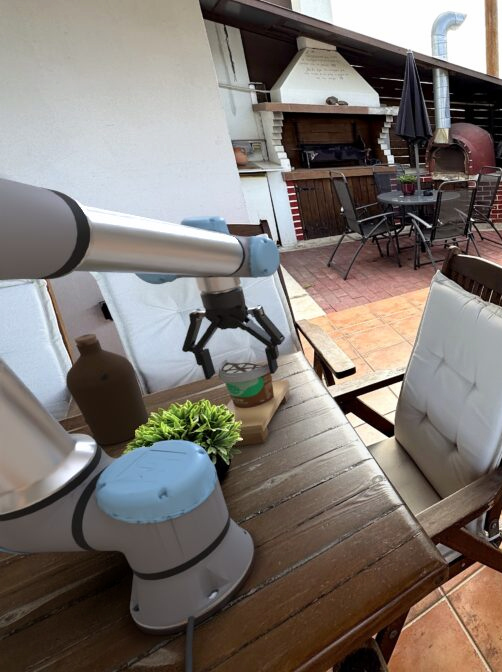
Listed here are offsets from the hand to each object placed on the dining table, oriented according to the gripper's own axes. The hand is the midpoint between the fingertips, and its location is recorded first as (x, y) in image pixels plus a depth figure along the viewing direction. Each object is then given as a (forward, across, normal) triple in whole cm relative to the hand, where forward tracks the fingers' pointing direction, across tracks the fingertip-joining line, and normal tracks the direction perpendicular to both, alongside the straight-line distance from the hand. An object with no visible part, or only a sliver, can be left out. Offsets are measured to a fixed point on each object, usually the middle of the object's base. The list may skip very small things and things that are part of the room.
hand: (243, 373), depth 93 cm
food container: (+9, +1, 0) cm, 9 cm away
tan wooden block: (+13, 0, 0) cm, 13 cm away
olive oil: (+14, +29, -2) cm, 32 cm away
